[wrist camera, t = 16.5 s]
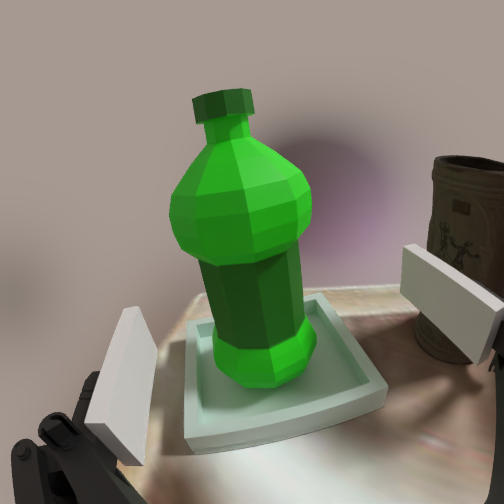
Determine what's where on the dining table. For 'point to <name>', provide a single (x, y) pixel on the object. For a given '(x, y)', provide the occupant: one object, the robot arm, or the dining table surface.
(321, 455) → the dining table surface
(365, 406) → the tray
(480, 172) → the beer stein
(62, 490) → the robot arm
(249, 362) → the plastic bottle
